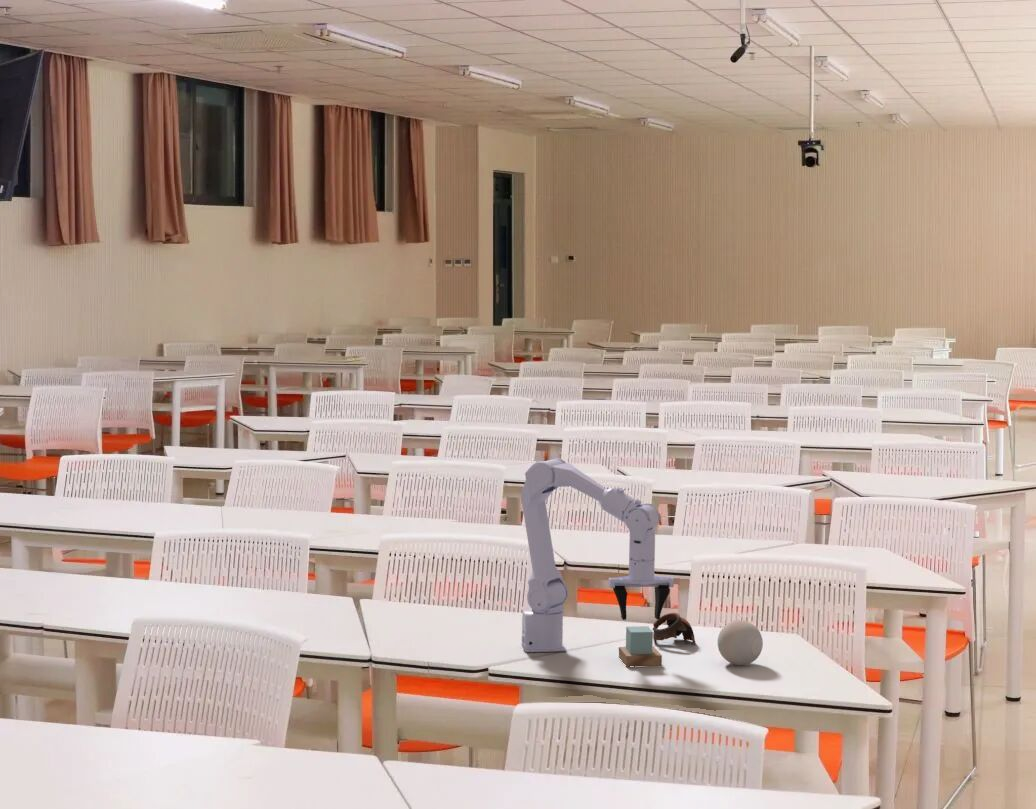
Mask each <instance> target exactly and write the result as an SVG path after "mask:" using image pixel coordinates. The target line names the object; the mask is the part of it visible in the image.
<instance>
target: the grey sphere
mask: <svg viewBox="0 0 1036 809" xmlns="http://www.w3.org/2000/svg"><path fill="white" fill-rule="evenodd" d="M763 645H764V642H763V637H762V634H761V632H760V630H759V629H758V628H757V627H756V625H754V624H753V623H751V622H749V621H746V620H742V619H740V620H739V619H737V620H733V621H732V620H731V621H730V622H728V623H727V624H725V625H724V626H723V627H722V628H721V630H720V631H719V633H718V636H717V649H718V651H719V654H720V655H721V657H722V658H723V659H724V660H725V661H727V662H728V663H730V664H733V666H734V665H736V666H746V665H750V664H752V663H753V662H754V661H756V660H757V659H759V656H760V655H761V653H762V651H763Z"/></svg>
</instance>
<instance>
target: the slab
mask: <svg viewBox="0 0 1036 809" xmlns="http://www.w3.org/2000/svg"><path fill="white" fill-rule="evenodd" d="M619 658H620V659H621V660H622V661H621V660H620V659H619ZM662 658H663V655H662V654H661V653H660V652H659V651H658V650H657V648H656V647H655V646H653V645H652V654H630V653H629V652H628V651H627V649H626V646H619V647H618V659H619V660H620V661H621V663H622V662H623V663H624V664H625V665H626V666H625V665H624V664H623V663H622V664H623V665H624V666H625V668H626V667H627V668H631V667H630V666H634V667H633V668H636V667H635V666H662V660H663V659H662Z"/></svg>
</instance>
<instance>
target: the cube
mask: <svg viewBox="0 0 1036 809" xmlns="http://www.w3.org/2000/svg"><path fill="white" fill-rule="evenodd" d="M625 630H626V631H625V647H626V649H627V651H628V652H629V653H630V654H652V646H653V643H654V639H653V632H654V631H653V629H651V628H650V627H649V626H646V625H643V626H640V625H639V626H638V625H637V626H635V625H634V626H633V625H632V626H626V627H625Z"/></svg>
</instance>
